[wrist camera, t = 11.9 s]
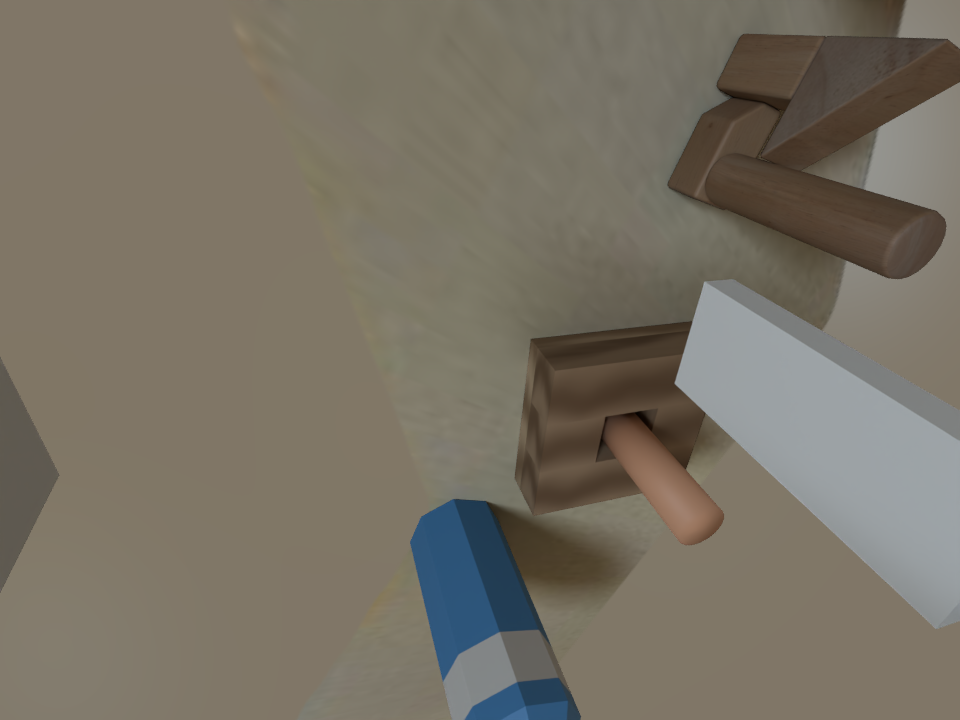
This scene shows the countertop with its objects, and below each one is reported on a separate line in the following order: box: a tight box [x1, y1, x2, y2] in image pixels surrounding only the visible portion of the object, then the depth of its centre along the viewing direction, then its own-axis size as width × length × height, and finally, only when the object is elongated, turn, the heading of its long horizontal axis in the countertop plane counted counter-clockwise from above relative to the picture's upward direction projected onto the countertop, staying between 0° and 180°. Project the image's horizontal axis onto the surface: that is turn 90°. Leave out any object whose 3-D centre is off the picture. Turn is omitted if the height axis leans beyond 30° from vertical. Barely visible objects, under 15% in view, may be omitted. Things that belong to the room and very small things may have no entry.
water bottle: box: [410, 499, 581, 720], centre depth 44 cm, size 9×9×25 cm
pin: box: [601, 412, 724, 545], centre depth 44 cm, size 4×4×14 cm
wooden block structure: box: [668, 34, 960, 279], centre depth 32 cm, size 4×11×18 cm, turn 159°
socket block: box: [515, 322, 705, 516], centre depth 49 cm, size 16×16×5 cm
